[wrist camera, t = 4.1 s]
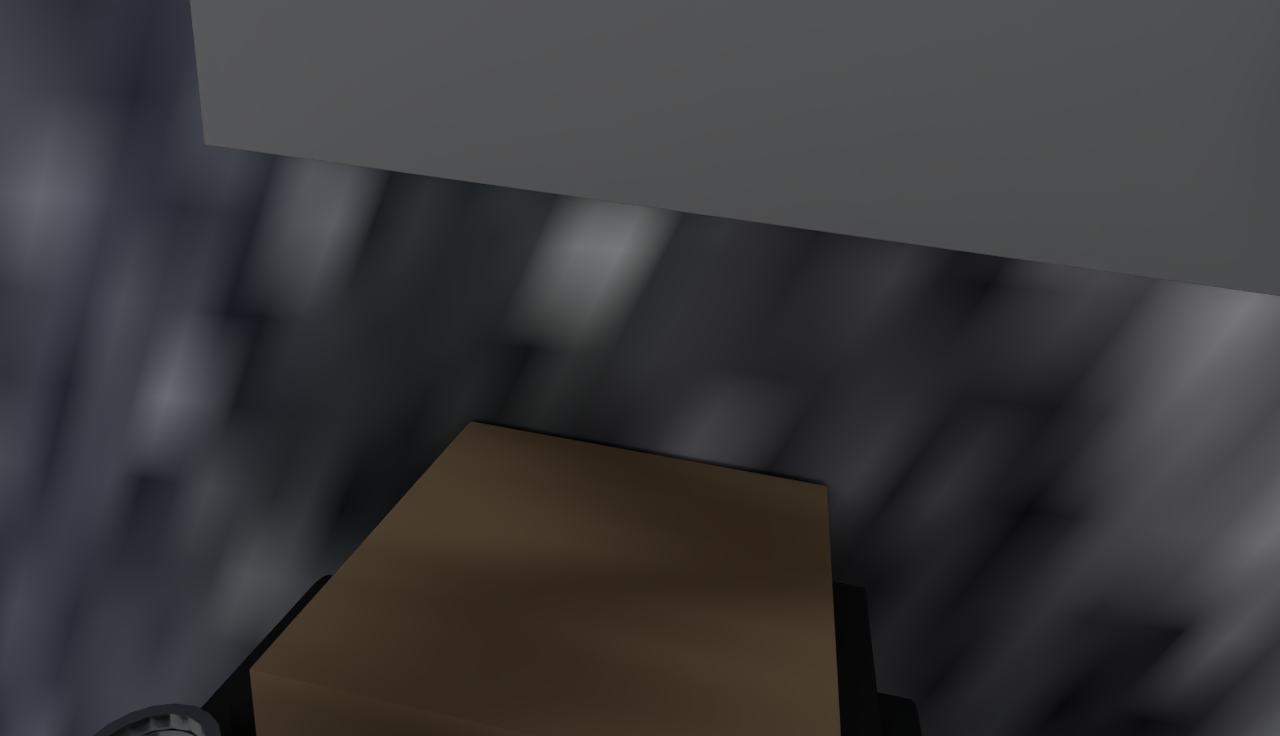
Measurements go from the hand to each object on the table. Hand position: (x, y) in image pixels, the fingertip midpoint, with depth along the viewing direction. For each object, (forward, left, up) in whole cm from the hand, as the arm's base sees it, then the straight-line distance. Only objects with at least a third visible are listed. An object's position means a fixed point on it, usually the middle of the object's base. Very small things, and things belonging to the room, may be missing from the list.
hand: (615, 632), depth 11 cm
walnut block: (0, 0, -1) cm, 1 cm away
